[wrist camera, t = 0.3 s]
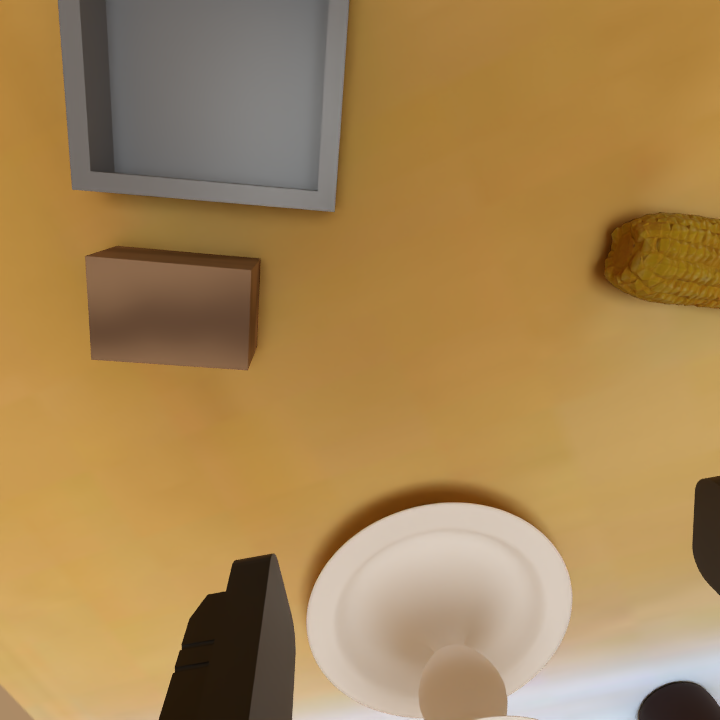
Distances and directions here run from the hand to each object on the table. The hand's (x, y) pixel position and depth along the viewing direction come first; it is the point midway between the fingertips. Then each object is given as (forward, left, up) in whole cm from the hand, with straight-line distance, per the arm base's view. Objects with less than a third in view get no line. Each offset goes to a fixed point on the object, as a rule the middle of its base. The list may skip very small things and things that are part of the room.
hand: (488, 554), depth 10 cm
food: (-3, +25, -28) cm, 38 cm away
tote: (-11, -10, -27) cm, 31 cm away
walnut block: (+2, -12, -28) cm, 30 cm away
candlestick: (+27, +8, -28) cm, 39 cm away
